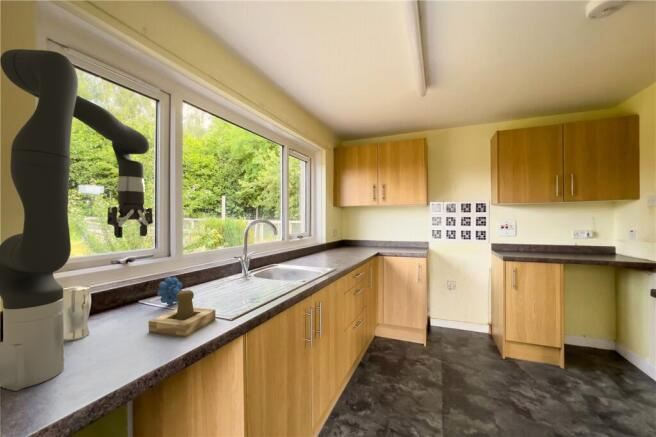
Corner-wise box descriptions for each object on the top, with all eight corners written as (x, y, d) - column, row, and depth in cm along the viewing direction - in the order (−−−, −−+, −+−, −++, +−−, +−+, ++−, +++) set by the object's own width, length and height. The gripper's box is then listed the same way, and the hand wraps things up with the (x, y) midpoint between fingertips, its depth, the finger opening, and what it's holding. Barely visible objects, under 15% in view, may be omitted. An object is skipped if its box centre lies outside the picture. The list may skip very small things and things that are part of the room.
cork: (187, 327, 85) (186, 294, 85) (170, 326, 86) (170, 293, 86) (199, 320, 91) (199, 289, 91) (183, 319, 92) (183, 288, 92)
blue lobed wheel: (166, 310, 102) (166, 280, 102) (153, 309, 104) (153, 279, 104) (190, 301, 114) (189, 274, 114) (177, 300, 116) (177, 273, 115)
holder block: (184, 337, 80) (184, 325, 80) (148, 332, 83) (148, 321, 83) (215, 319, 93) (215, 309, 93) (183, 316, 97) (183, 306, 97)
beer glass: (61, 336, 81) (61, 287, 81) (91, 329, 85) (91, 284, 85) (58, 344, 75) (57, 292, 75) (90, 337, 80) (90, 288, 80)
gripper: (118, 188, 83) (118, 238, 84) (158, 192, 97) (158, 235, 97) (101, 189, 85) (101, 238, 86) (142, 192, 99) (142, 235, 99)
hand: (131, 236), depth 91 cm, fingers open, 8 cm apart
